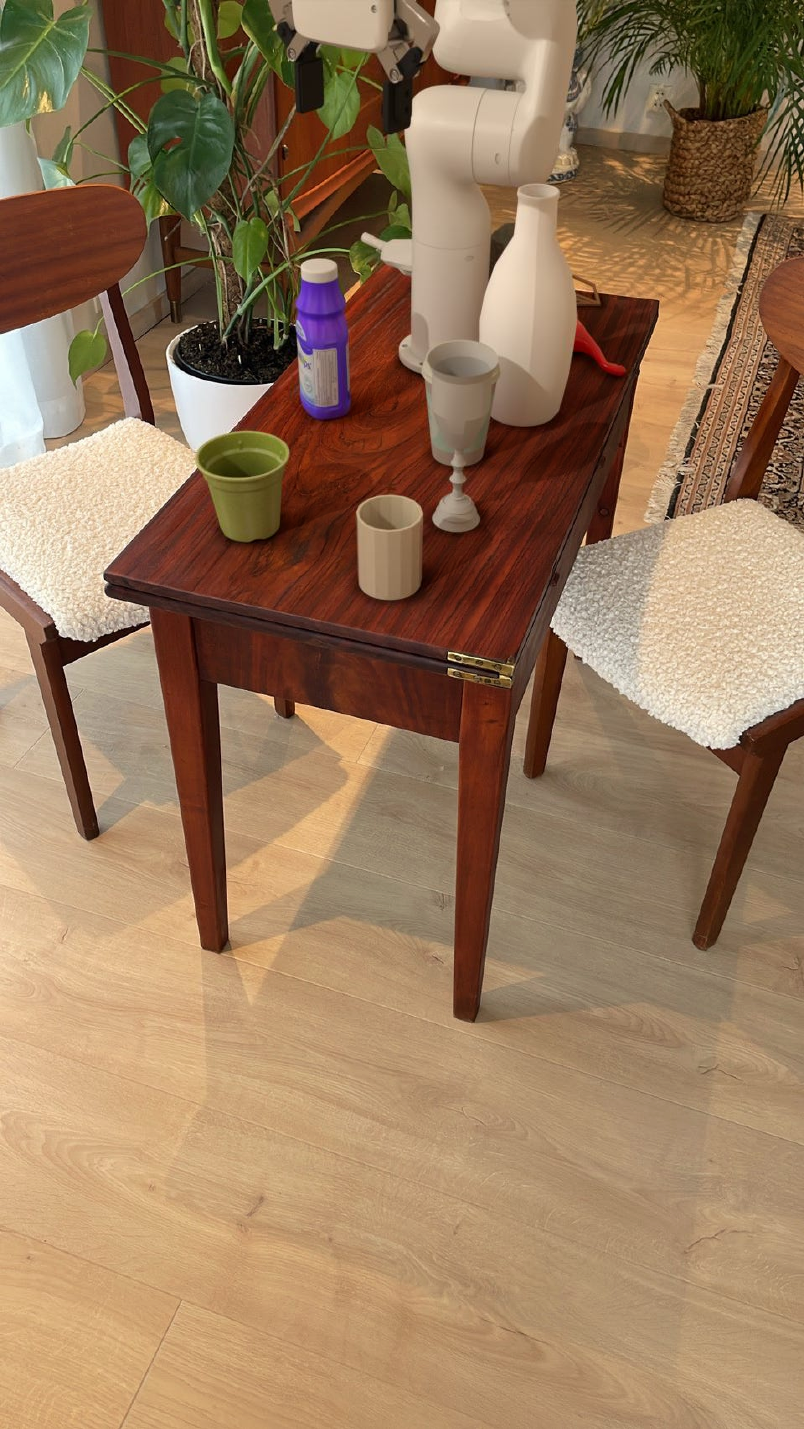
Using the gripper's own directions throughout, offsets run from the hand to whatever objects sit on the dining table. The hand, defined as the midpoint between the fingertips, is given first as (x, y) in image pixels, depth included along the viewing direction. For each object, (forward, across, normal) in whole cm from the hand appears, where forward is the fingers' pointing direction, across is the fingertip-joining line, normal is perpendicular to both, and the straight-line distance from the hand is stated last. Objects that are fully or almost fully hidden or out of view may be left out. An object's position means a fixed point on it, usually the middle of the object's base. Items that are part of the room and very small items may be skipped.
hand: (352, 120), depth 101 cm
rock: (+32, +9, -42) cm, 53 cm away
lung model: (+31, +11, -46) cm, 57 cm away
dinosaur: (+34, +3, -47) cm, 58 cm away
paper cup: (+38, -12, +10) cm, 41 cm away
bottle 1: (+37, +15, -12) cm, 42 cm away
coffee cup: (+37, -4, -13) cm, 40 cm away
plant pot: (+38, +5, +12) cm, 40 cm away
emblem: (+36, +9, -59) cm, 69 cm away
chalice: (+38, -11, -3) cm, 39 cm away
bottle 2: (+37, -4, -26) cm, 46 cm away
